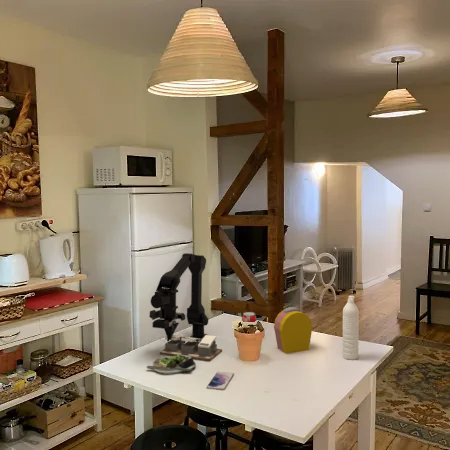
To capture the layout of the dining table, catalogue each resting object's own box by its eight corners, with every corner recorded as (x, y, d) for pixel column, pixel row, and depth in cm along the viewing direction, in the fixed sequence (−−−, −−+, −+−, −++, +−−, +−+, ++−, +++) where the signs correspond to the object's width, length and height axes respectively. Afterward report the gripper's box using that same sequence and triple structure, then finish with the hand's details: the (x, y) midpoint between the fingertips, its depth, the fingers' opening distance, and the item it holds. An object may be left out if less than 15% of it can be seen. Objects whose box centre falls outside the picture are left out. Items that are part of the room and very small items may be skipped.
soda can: (257, 340, 219) (256, 315, 218) (242, 340, 219) (241, 315, 218) (256, 336, 226) (256, 311, 225) (241, 336, 226) (241, 311, 225)
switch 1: (173, 336, 211) (174, 334, 211) (183, 338, 209) (183, 335, 209) (165, 339, 204) (165, 336, 204) (175, 340, 202) (175, 337, 202)
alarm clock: (302, 344, 213) (302, 304, 212) (312, 349, 206) (312, 308, 204) (273, 348, 208) (273, 307, 207) (282, 354, 200) (281, 312, 199)
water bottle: (357, 360, 192) (358, 300, 190) (341, 359, 194) (342, 299, 192) (359, 353, 200) (359, 296, 198) (343, 352, 202) (343, 295, 200)
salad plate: (148, 379, 177) (148, 367, 176) (144, 362, 194) (144, 352, 194) (199, 373, 182) (198, 362, 181) (190, 357, 199) (190, 347, 199)
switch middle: (189, 339, 208) (189, 337, 208) (199, 340, 206) (200, 338, 206) (181, 340, 201) (181, 337, 201) (191, 341, 199) (191, 339, 199)
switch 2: (206, 336, 205) (205, 334, 204) (216, 338, 203) (216, 335, 202) (198, 347, 198) (197, 344, 197) (209, 348, 196) (208, 346, 195)
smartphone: (205, 387, 167) (217, 371, 182) (205, 389, 167) (217, 373, 182) (224, 389, 166) (234, 372, 180) (224, 391, 166) (234, 374, 180)
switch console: (174, 345, 214) (173, 330, 214) (222, 351, 205) (221, 336, 204) (159, 354, 202) (159, 339, 202) (209, 361, 193) (209, 346, 193)
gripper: (164, 298, 213) (164, 332, 214) (141, 306, 196) (141, 343, 197) (185, 300, 209) (185, 335, 210) (164, 308, 192) (164, 346, 192)
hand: (169, 339), depth 202 cm, fingers closed
